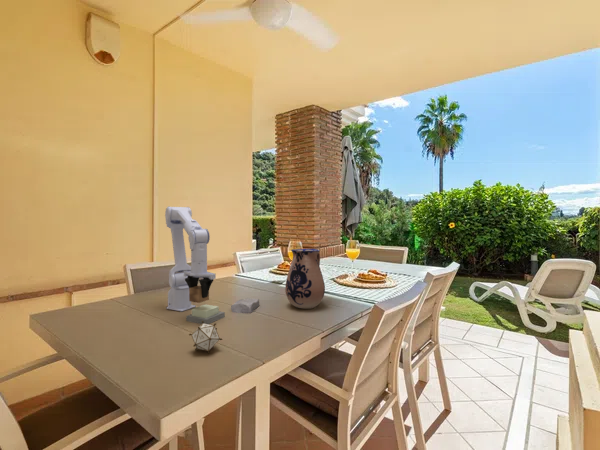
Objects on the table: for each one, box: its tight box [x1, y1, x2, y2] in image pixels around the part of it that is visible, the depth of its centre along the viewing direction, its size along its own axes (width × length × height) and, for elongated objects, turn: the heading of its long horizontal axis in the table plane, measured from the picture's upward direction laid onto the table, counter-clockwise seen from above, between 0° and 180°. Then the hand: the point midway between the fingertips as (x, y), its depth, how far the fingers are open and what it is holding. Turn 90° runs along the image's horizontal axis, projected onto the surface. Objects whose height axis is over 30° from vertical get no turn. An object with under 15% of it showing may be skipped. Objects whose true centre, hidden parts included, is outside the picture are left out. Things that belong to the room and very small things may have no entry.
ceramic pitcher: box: [284, 248, 326, 310], centre depth 134 cm, size 18×21×25 cm
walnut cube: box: [189, 284, 210, 304], centre depth 114 cm, size 5×5×5 cm
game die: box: [188, 321, 223, 355], centre depth 88 cm, size 9×8×10 cm
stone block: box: [230, 297, 260, 314], centre depth 129 cm, size 12×5×10 cm
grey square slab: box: [185, 310, 226, 325], centre depth 116 cm, size 10×10×2 cm
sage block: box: [191, 303, 220, 318], centre depth 115 cm, size 7×7×2 cm
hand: (199, 296), depth 114 cm, fingers closed on walnut cube, 5 cm apart
